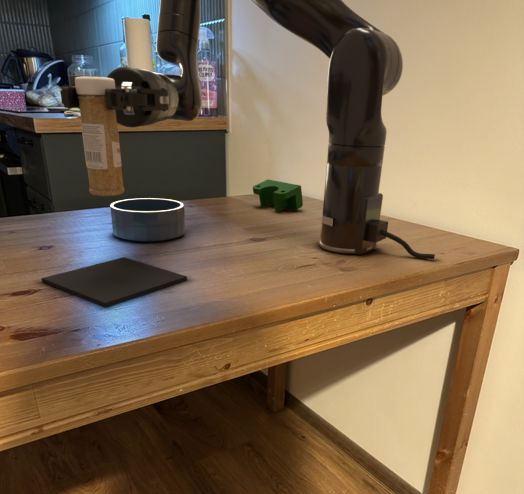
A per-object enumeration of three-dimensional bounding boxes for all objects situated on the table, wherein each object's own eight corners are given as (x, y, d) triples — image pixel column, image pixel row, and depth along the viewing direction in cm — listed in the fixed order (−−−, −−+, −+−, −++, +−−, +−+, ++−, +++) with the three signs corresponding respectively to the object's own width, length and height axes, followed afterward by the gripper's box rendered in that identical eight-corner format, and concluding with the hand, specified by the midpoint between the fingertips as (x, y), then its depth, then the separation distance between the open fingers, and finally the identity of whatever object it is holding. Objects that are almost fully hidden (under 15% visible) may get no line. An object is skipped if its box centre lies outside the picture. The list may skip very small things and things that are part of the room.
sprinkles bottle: (131, 194, 65) (122, 78, 59) (101, 198, 62) (88, 76, 56) (111, 189, 68) (100, 77, 62) (81, 193, 65) (66, 75, 59)
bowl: (199, 234, 95) (198, 205, 93) (146, 247, 86) (143, 215, 83) (152, 223, 102) (150, 195, 100) (98, 234, 93) (95, 204, 90)
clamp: (261, 224, 123) (246, 189, 121) (278, 215, 126) (263, 181, 124) (291, 213, 114) (275, 175, 111) (308, 204, 117) (293, 167, 114)
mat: (187, 280, 71) (187, 276, 71) (105, 307, 61) (105, 303, 61) (124, 260, 79) (123, 257, 78) (42, 282, 68) (41, 278, 68)
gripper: (88, 66, 72) (22, 59, 57) (185, 70, 70) (143, 63, 55) (95, 123, 75) (34, 130, 60) (187, 128, 74) (148, 136, 59)
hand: (87, 98), depth 58 cm, fingers closed on sprinkles bottle, 4 cm apart
